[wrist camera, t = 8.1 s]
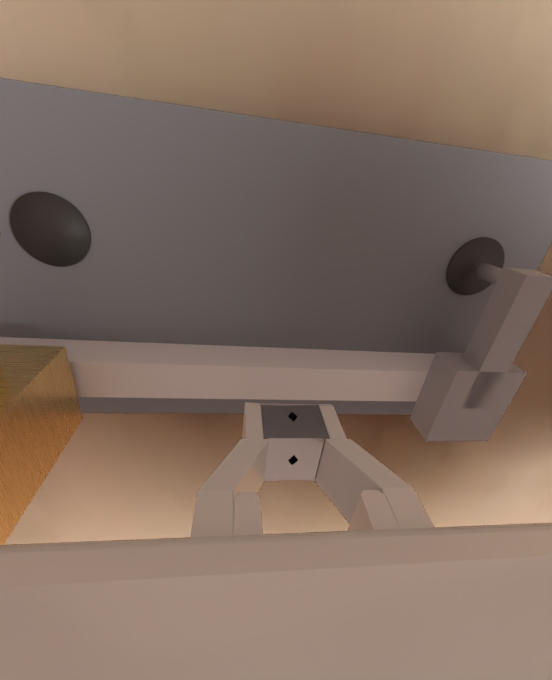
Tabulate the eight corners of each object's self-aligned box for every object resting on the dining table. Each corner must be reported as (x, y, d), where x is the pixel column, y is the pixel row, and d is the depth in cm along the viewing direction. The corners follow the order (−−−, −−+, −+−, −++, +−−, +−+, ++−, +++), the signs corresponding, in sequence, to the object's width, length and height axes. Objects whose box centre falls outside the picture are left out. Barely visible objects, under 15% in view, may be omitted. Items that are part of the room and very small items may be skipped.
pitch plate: (565, 166, 12) (696, 164, 9) (452, 403, 18) (505, 459, 14) (-156, 60, 9) (-418, -15, 5) (-15, 397, 14) (-97, 470, 11)
